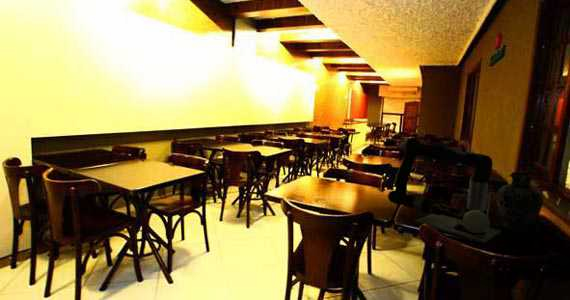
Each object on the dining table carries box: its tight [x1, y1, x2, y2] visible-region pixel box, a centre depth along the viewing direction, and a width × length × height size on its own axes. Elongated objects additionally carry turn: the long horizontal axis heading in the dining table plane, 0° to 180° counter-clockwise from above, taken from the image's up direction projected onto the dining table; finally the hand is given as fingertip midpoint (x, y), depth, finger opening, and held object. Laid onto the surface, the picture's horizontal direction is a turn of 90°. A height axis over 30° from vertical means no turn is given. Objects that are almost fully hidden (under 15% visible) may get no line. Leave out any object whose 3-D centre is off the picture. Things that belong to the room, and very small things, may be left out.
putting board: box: [414, 191, 503, 243], centre depth 156 cm, size 32×22×19 cm
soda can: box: [450, 192, 467, 218], centre depth 176 cm, size 7×7×12 cm
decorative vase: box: [495, 171, 544, 232], centre depth 159 cm, size 21×19×28 cm
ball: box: [462, 210, 491, 235], centre depth 150 cm, size 11×11×11 cm
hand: (455, 213), depth 157 cm, fingers open, 8 cm apart
